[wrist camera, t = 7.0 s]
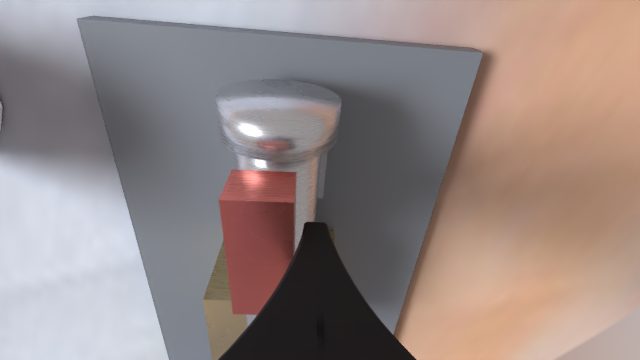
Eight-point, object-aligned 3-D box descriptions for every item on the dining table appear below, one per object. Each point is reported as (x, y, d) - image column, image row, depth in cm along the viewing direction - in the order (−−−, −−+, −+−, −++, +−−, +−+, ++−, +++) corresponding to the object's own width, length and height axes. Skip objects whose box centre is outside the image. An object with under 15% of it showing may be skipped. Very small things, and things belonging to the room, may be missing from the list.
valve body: (315, 368, 29) (315, 453, 23) (240, 366, 28) (224, 452, 23) (353, 80, 16) (372, 129, 11) (216, 69, 15) (169, 116, 10)
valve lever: (296, 367, 18) (294, 404, 16) (246, 366, 17) (239, 404, 16) (302, 172, 11) (300, 203, 10) (225, 169, 11) (211, 199, 10)
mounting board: (376, 367, 31) (378, 380, 30) (178, 361, 30) (173, 375, 29) (472, 48, 16) (483, 52, 15) (92, 16, 15) (76, 18, 14)
